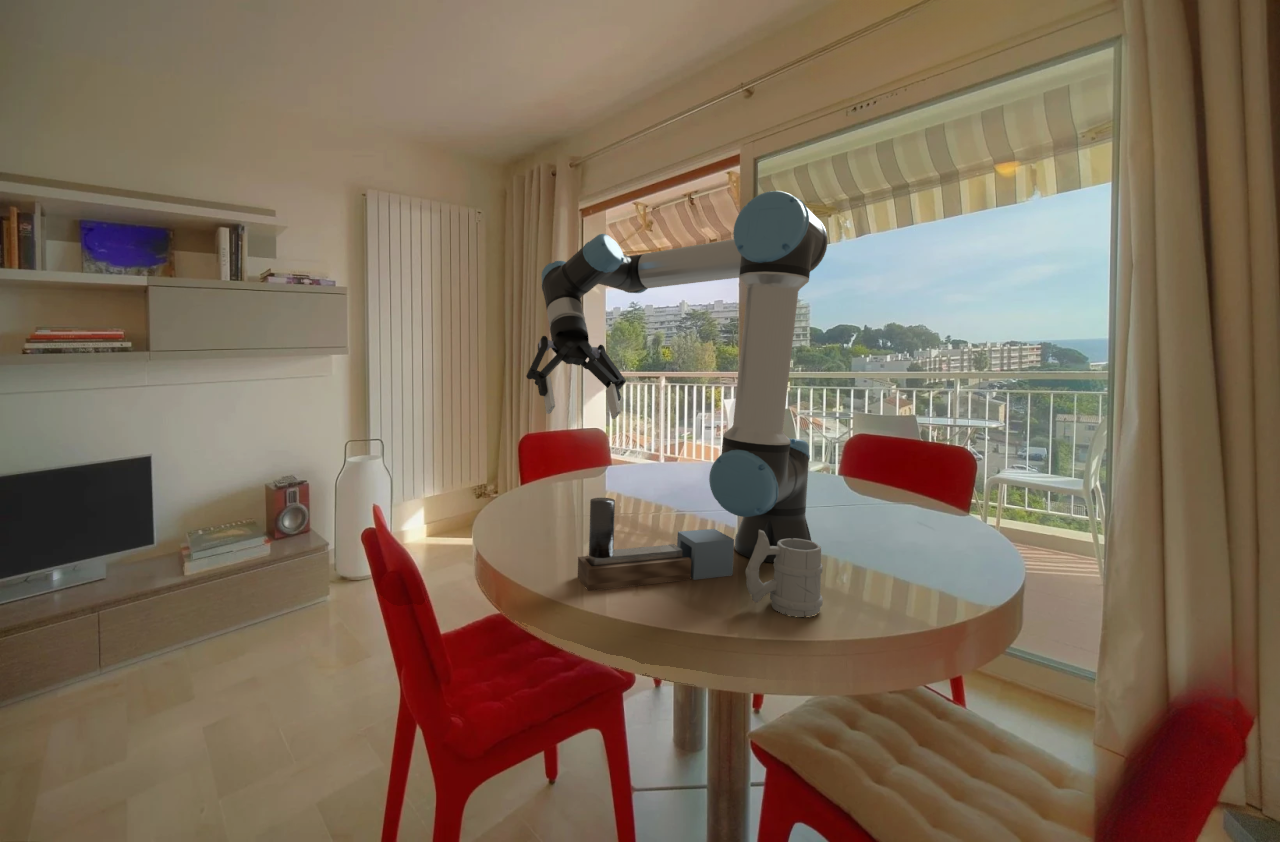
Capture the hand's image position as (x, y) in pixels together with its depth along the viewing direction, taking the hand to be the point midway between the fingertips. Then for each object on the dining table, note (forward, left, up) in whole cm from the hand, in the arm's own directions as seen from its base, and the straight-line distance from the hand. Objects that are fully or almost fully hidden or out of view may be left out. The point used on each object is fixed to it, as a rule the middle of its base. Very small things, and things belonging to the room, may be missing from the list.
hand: (584, 412), depth 105 cm
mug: (-22, +34, -27) cm, 49 cm away
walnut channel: (-5, +16, -27) cm, 32 cm away
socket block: (-18, +16, -27) cm, 36 cm away
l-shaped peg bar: (-5, +16, -26) cm, 31 cm away
